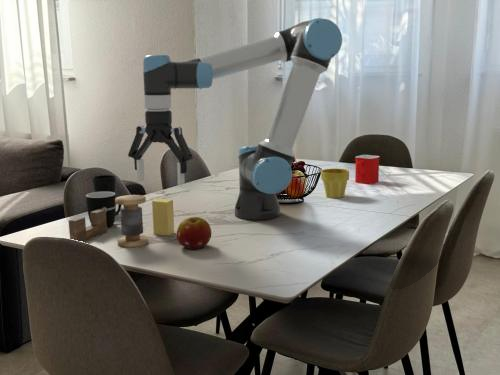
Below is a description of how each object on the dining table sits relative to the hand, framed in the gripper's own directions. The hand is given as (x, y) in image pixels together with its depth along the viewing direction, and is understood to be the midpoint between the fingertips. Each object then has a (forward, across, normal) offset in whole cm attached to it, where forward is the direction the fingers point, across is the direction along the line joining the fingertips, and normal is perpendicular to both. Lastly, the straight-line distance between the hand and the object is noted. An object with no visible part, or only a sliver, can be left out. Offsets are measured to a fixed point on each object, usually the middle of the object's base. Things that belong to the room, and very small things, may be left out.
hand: (160, 182), depth 177 cm
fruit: (+16, -15, +9) cm, 23 cm away
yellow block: (+15, 0, 0) cm, 15 cm away
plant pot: (+15, -35, -65) cm, 76 cm away
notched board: (+16, +18, +12) cm, 26 cm away
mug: (+16, +22, -2) cm, 27 cm away
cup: (+16, +33, -17) cm, 40 cm away
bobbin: (+15, +3, +12) cm, 20 cm away
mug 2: (+15, -40, -94) cm, 104 cm away
